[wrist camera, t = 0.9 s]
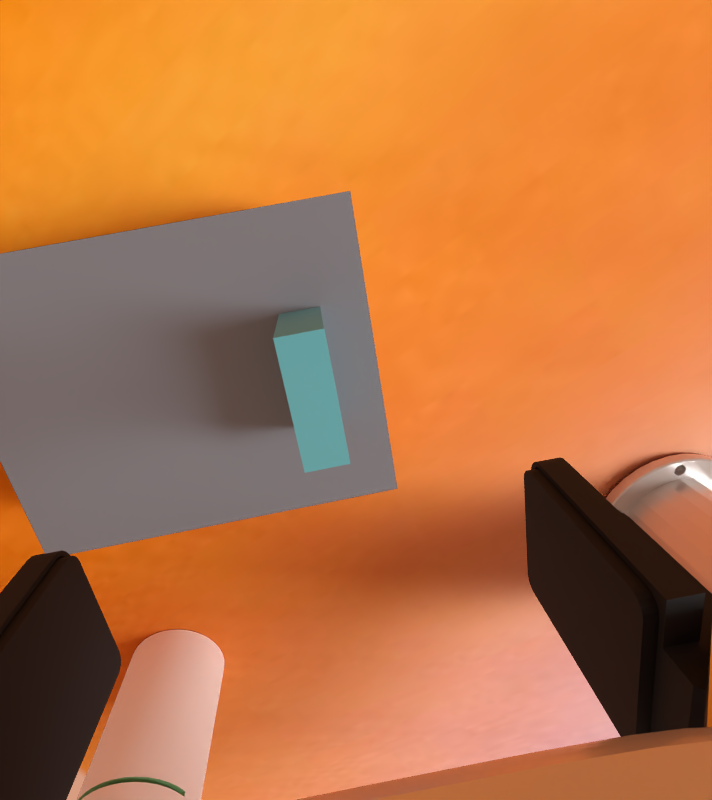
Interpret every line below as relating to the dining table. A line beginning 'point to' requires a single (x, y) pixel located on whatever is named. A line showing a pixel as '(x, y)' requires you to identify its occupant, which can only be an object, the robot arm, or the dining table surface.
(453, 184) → the dining table surface
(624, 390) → the dining table surface
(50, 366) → the lid
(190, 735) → the cylindrical container
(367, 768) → the dining table surface
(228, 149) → the dining table surface
